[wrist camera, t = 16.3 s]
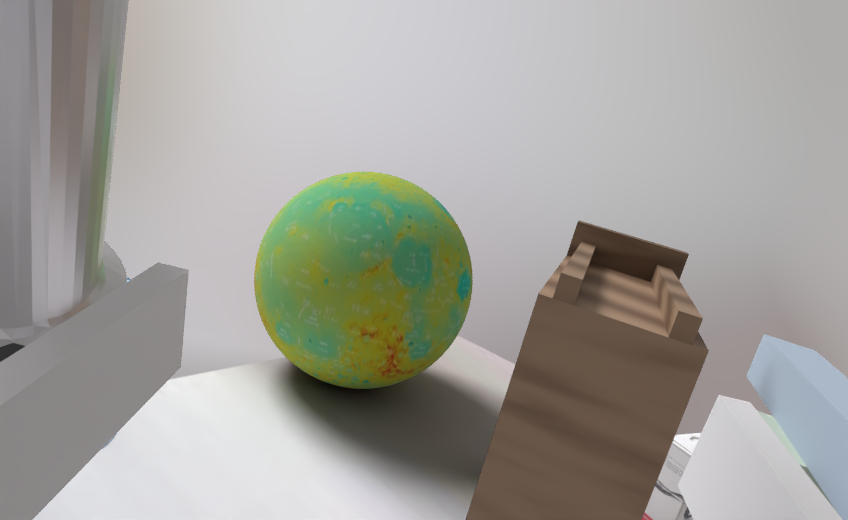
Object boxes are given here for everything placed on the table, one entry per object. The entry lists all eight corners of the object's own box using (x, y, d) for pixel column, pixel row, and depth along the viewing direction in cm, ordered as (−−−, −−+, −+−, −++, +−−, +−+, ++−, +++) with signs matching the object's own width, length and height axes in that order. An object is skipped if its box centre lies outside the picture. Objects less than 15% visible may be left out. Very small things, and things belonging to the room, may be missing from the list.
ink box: (663, 555, 63) (703, 460, 61) (627, 524, 67) (663, 433, 65) (708, 542, 68) (746, 454, 66) (671, 514, 72) (706, 429, 70)
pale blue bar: (996, 628, 23) (1044, 544, 22) (884, 582, 24) (925, 501, 24) (796, 393, 50) (814, 350, 49) (746, 376, 51) (764, 334, 50)
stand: (546, 818, 35) (756, 306, 28) (382, 722, 38) (534, 238, 31) (574, 581, 55) (697, 254, 49) (466, 531, 58) (568, 216, 51)
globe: (257, 318, 97) (295, 142, 91) (429, 356, 102) (477, 190, 95) (208, 404, 68) (259, 154, 62) (452, 452, 73) (523, 222, 66)
